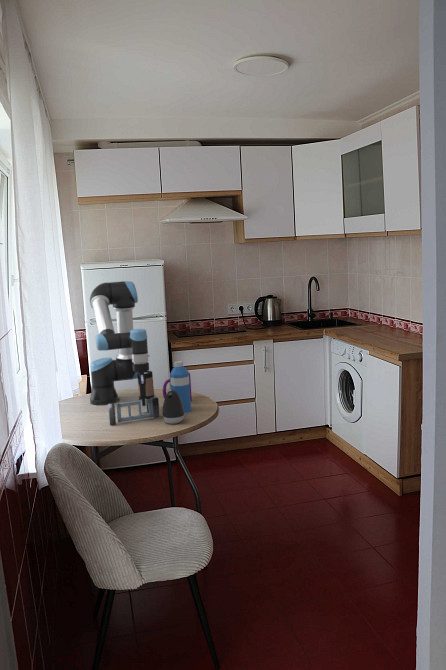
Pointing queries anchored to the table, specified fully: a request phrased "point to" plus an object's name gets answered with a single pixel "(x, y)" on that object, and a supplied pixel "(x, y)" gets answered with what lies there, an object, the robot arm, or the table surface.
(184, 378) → the water bottle
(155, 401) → the latch post
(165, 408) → the pump dispenser
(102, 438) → the table surface
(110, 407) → the hinge post
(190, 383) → the mug
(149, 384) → the travel mug
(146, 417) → the gate
